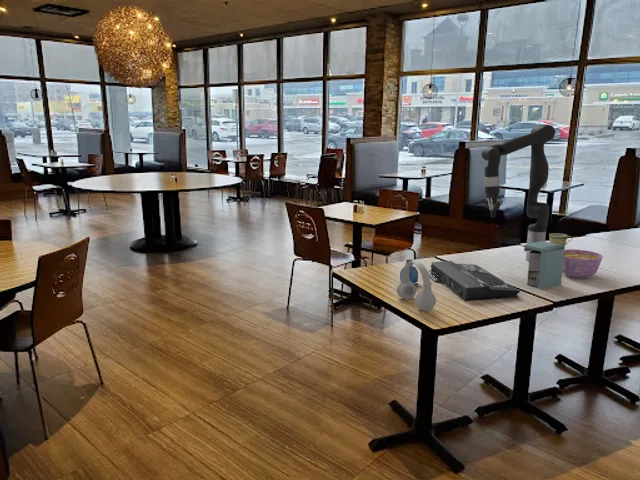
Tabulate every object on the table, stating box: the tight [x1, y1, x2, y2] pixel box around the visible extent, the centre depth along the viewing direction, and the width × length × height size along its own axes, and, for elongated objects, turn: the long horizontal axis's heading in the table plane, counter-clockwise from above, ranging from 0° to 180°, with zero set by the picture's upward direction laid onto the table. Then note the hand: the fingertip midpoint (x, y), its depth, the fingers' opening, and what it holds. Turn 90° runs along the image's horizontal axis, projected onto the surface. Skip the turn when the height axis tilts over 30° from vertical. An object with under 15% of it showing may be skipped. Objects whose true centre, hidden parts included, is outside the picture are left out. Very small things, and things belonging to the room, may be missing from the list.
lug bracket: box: [523, 241, 566, 291], centre depth 231 cm, size 13×12×20 cm
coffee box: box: [526, 250, 541, 287], centre depth 234 cm, size 9×6×16 cm
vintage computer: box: [428, 260, 521, 302], centre depth 234 cm, size 43×29×8 cm
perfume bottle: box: [399, 259, 419, 284], centre depth 238 cm, size 6×6×12 cm
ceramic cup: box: [548, 232, 573, 247], centre depth 292 cm, size 13×10×10 cm
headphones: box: [396, 260, 437, 312], centre depth 209 cm, size 20×8×19 cm, turn 21°
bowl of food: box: [562, 249, 604, 280], centre depth 243 cm, size 20×20×12 cm
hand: (493, 216), depth 261 cm, fingers closed
